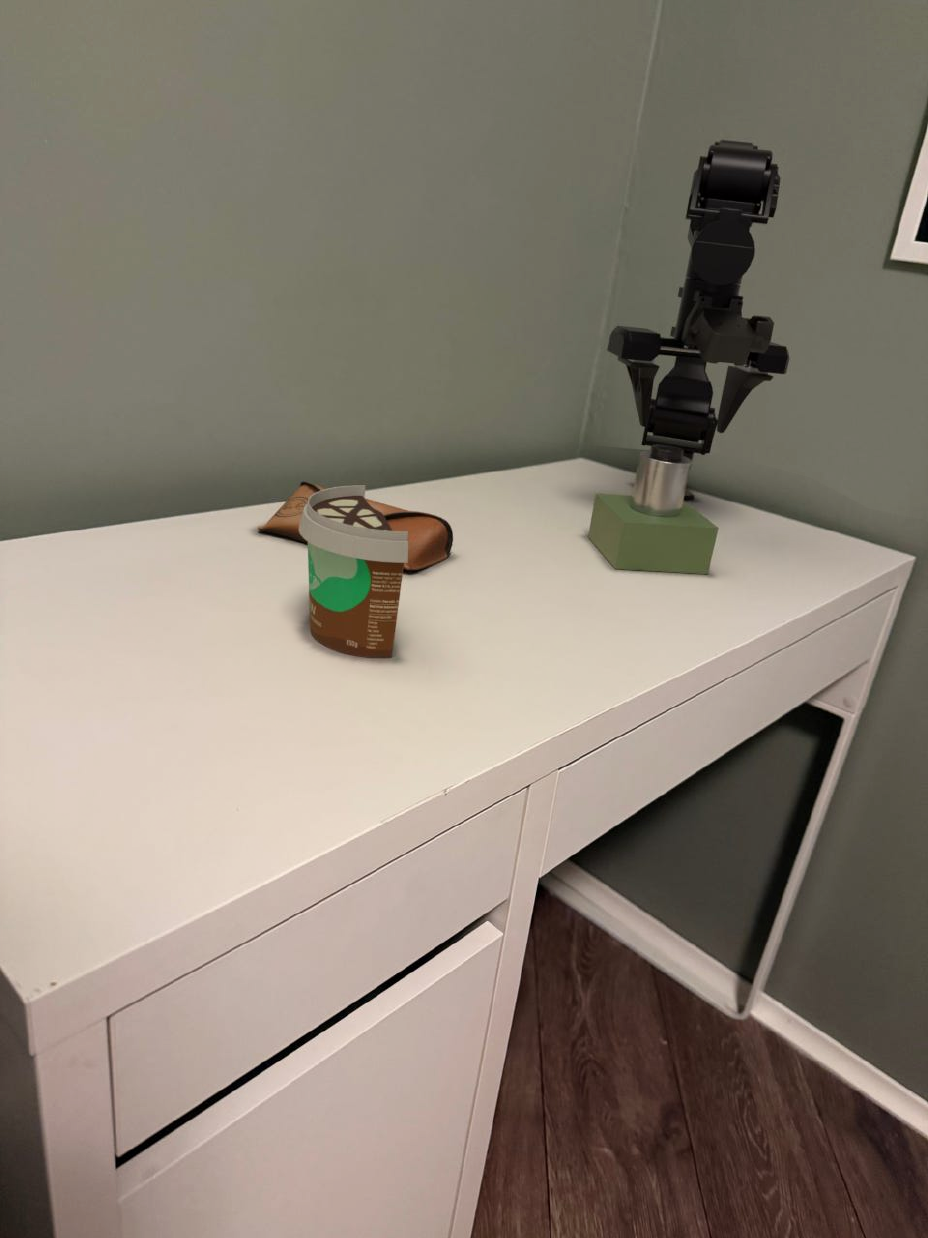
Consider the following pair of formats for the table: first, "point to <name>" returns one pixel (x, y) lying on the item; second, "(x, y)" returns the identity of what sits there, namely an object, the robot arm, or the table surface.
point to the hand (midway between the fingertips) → (681, 429)
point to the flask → (661, 481)
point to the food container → (352, 572)
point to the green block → (651, 537)
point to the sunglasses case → (424, 530)
